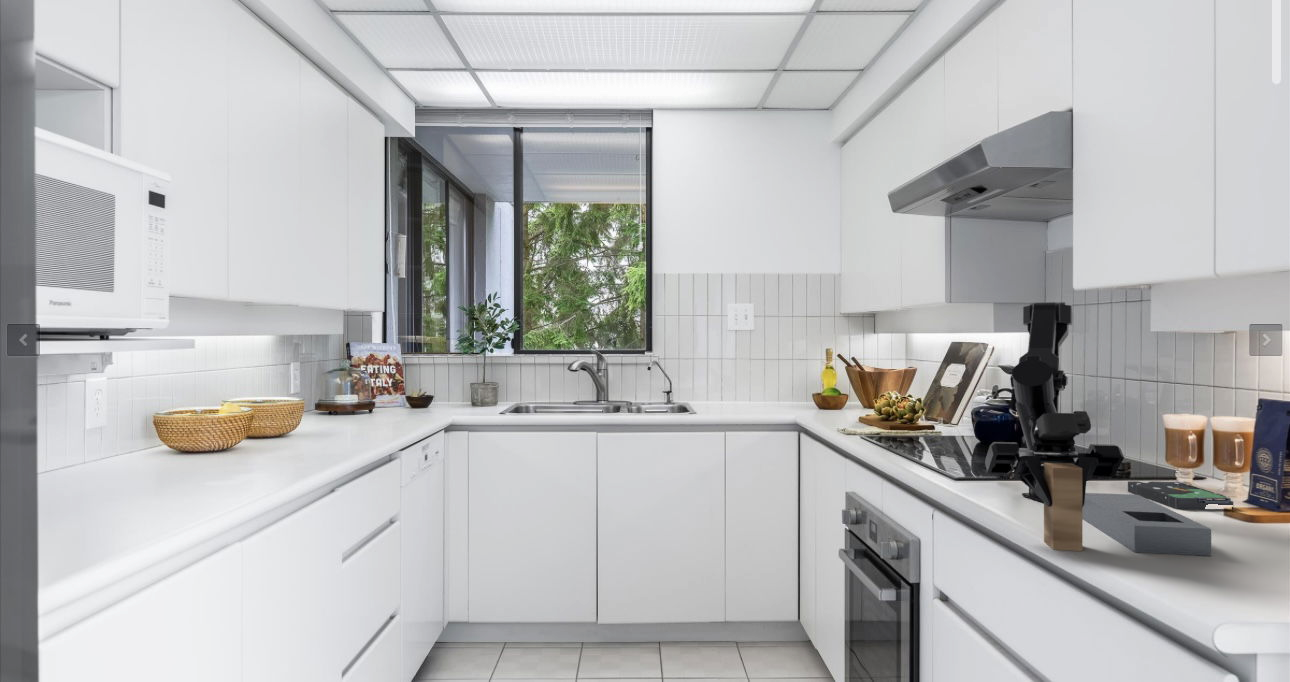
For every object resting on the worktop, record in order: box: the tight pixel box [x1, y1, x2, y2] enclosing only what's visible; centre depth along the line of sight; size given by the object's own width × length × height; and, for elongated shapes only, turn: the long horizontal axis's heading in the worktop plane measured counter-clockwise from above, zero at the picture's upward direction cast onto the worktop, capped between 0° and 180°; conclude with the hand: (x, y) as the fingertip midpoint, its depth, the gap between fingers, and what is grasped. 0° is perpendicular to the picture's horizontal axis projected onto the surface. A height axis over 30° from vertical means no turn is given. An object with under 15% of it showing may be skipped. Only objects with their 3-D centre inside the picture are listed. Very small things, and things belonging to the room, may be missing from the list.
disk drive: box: [1127, 481, 1234, 511], centre depth 135 cm, size 10×3×15 cm
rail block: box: [1082, 492, 1212, 557], centre depth 113 cm, size 22×10×4 cm, turn 168°
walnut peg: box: [1043, 463, 1083, 552], centre depth 107 cm, size 4×4×12 cm
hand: (1066, 505), depth 106 cm, fingers closed on walnut peg, 4 cm apart
